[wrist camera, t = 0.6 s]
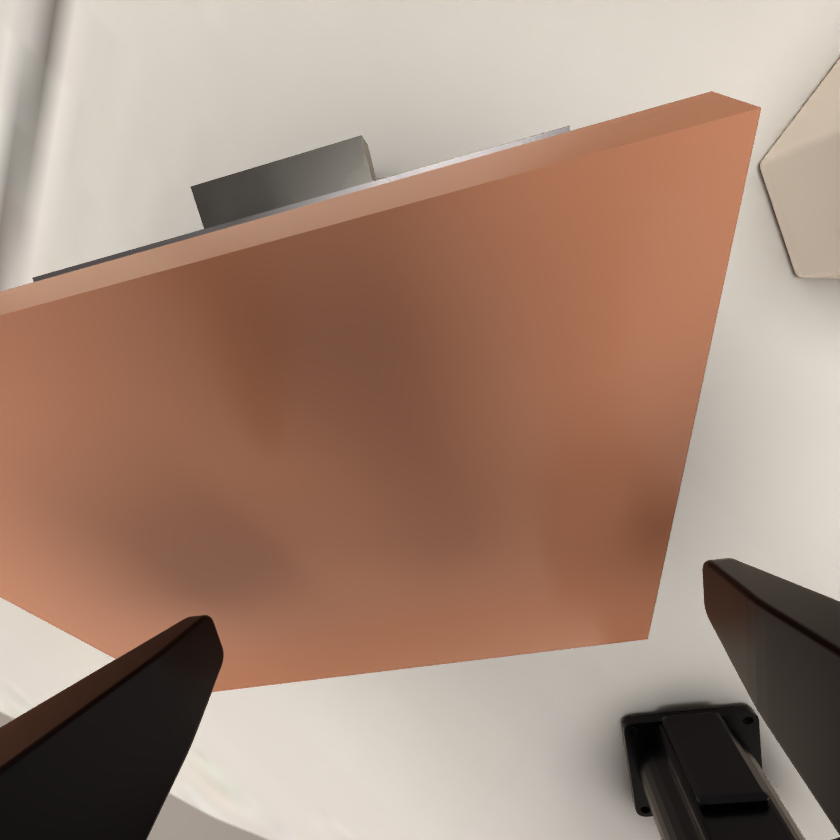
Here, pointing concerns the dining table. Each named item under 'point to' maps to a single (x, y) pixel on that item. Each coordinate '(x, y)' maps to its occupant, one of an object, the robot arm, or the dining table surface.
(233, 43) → the dining table surface
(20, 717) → the robot arm
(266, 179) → the dark grey flat box
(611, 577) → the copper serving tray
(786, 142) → the jar
